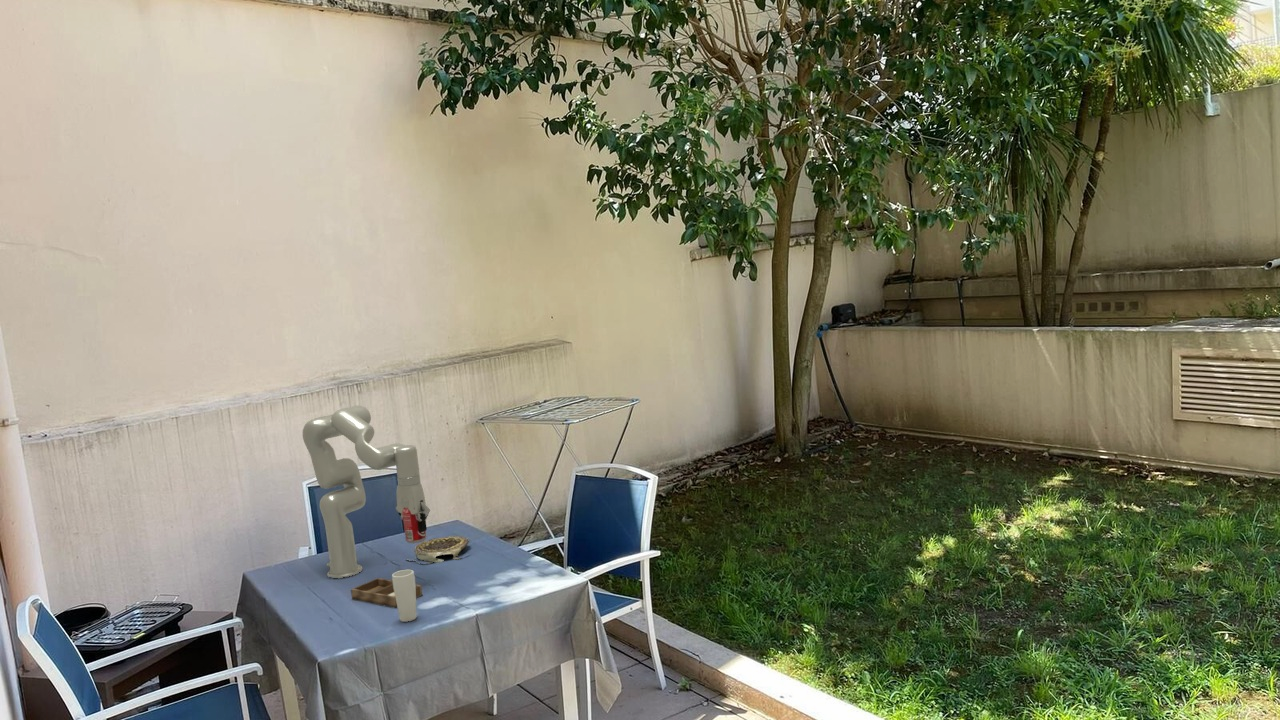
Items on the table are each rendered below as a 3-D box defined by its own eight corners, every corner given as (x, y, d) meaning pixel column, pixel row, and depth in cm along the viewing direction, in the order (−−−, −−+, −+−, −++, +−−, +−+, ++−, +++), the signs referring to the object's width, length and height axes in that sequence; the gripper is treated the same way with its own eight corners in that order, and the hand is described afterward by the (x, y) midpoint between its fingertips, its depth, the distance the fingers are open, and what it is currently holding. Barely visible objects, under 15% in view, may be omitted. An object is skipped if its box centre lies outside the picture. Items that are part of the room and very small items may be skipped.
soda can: (421, 543, 297) (417, 507, 296) (402, 544, 298) (397, 507, 297) (430, 537, 304) (426, 501, 302) (411, 538, 305) (407, 502, 304)
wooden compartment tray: (352, 599, 294) (350, 589, 293) (379, 587, 303) (378, 578, 303) (395, 607, 281) (394, 597, 281) (422, 595, 291) (421, 585, 290)
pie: (395, 557, 339) (393, 545, 339) (455, 539, 357) (454, 528, 357) (430, 570, 318) (428, 557, 318) (492, 551, 337) (491, 538, 336)
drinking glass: (399, 616, 273) (394, 570, 272) (421, 613, 273) (415, 568, 272) (395, 624, 266) (389, 578, 265) (417, 622, 267) (411, 575, 265)
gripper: (383, 482, 301) (389, 531, 302) (418, 484, 291) (424, 535, 293) (400, 477, 307) (406, 525, 308) (434, 479, 297) (440, 529, 299)
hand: (415, 530), depth 301 cm, fingers closed on soda can, 7 cm apart
